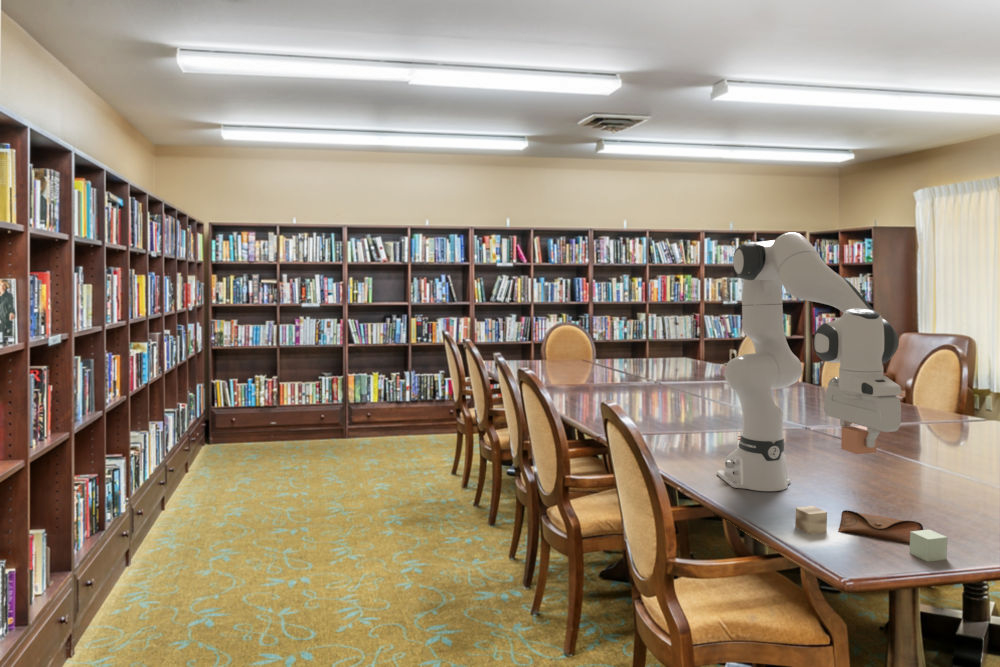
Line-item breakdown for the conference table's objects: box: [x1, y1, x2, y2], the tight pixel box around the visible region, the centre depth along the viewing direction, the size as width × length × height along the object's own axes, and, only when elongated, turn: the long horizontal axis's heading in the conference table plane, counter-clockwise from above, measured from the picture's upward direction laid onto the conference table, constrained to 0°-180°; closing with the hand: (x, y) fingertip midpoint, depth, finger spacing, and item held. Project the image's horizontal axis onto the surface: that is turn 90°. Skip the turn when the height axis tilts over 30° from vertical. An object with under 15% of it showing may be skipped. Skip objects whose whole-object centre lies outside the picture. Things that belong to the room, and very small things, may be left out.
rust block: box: [840, 425, 878, 455], centre depth 165 cm, size 5×5×5 cm
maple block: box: [794, 505, 828, 535], centre depth 179 cm, size 5×5×5 cm
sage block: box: [909, 529, 948, 562], centre depth 162 cm, size 5×5×5 cm
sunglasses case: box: [837, 509, 924, 545], centre depth 177 cm, size 18×7×7 cm, turn 57°
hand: (858, 443), depth 165 cm, fingers closed on rust block, 5 cm apart
